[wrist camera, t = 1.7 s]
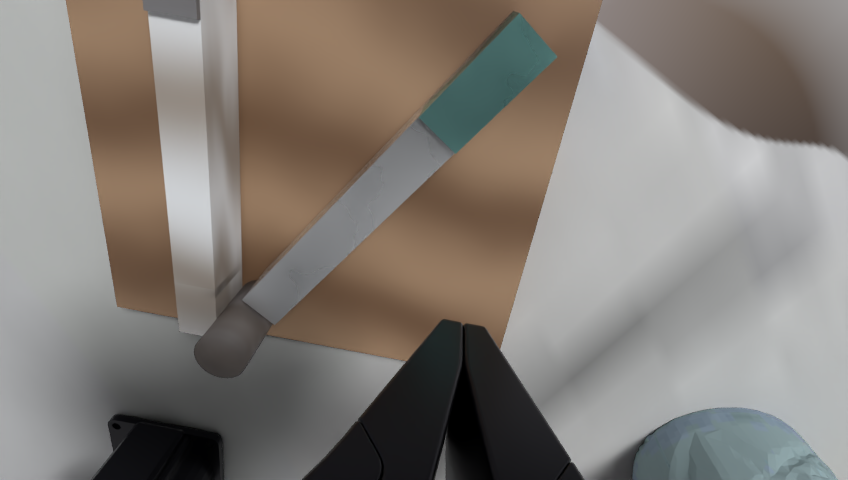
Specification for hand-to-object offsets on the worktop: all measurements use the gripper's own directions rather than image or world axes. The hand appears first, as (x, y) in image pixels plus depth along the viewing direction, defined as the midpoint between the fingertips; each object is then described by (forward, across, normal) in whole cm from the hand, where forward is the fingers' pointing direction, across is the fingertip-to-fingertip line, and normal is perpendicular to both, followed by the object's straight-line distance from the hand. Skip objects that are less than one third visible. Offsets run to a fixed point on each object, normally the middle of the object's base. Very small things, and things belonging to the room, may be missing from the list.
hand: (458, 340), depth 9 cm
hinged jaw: (+10, +3, +1) cm, 10 cm away
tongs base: (+11, +6, +1) cm, 13 cm away
